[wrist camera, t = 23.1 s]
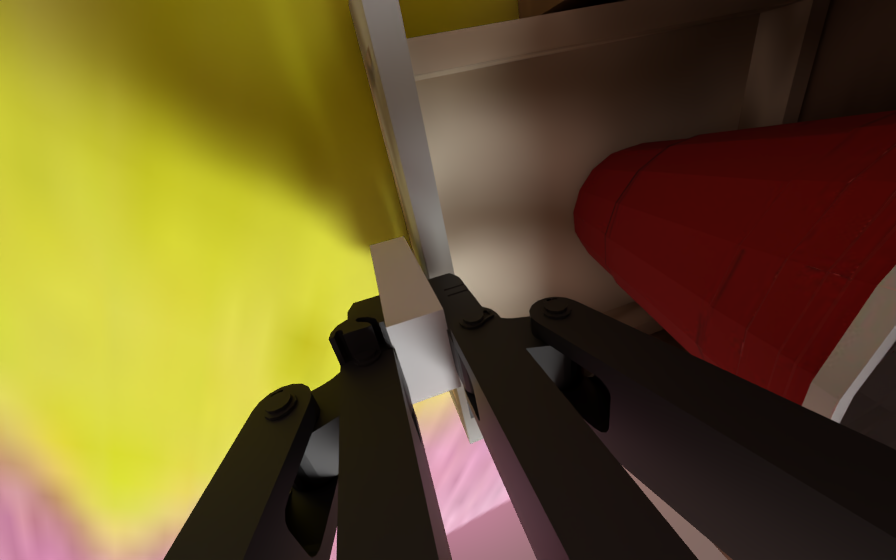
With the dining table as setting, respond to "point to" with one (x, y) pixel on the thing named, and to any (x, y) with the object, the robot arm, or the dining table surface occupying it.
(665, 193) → the plastic cup
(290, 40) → the dining table surface
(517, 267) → the tray
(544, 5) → the block
